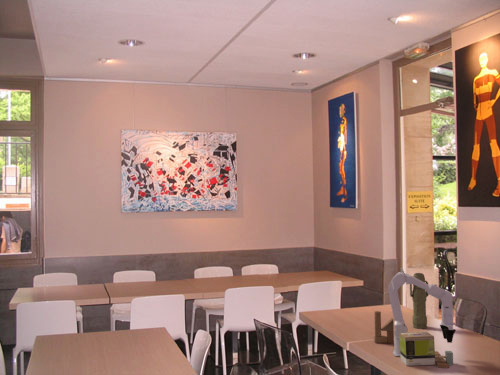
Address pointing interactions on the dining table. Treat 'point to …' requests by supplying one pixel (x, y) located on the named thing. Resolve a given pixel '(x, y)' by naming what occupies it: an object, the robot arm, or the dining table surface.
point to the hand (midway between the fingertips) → (447, 340)
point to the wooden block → (387, 327)
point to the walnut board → (440, 361)
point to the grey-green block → (448, 357)
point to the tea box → (417, 348)
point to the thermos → (419, 303)
